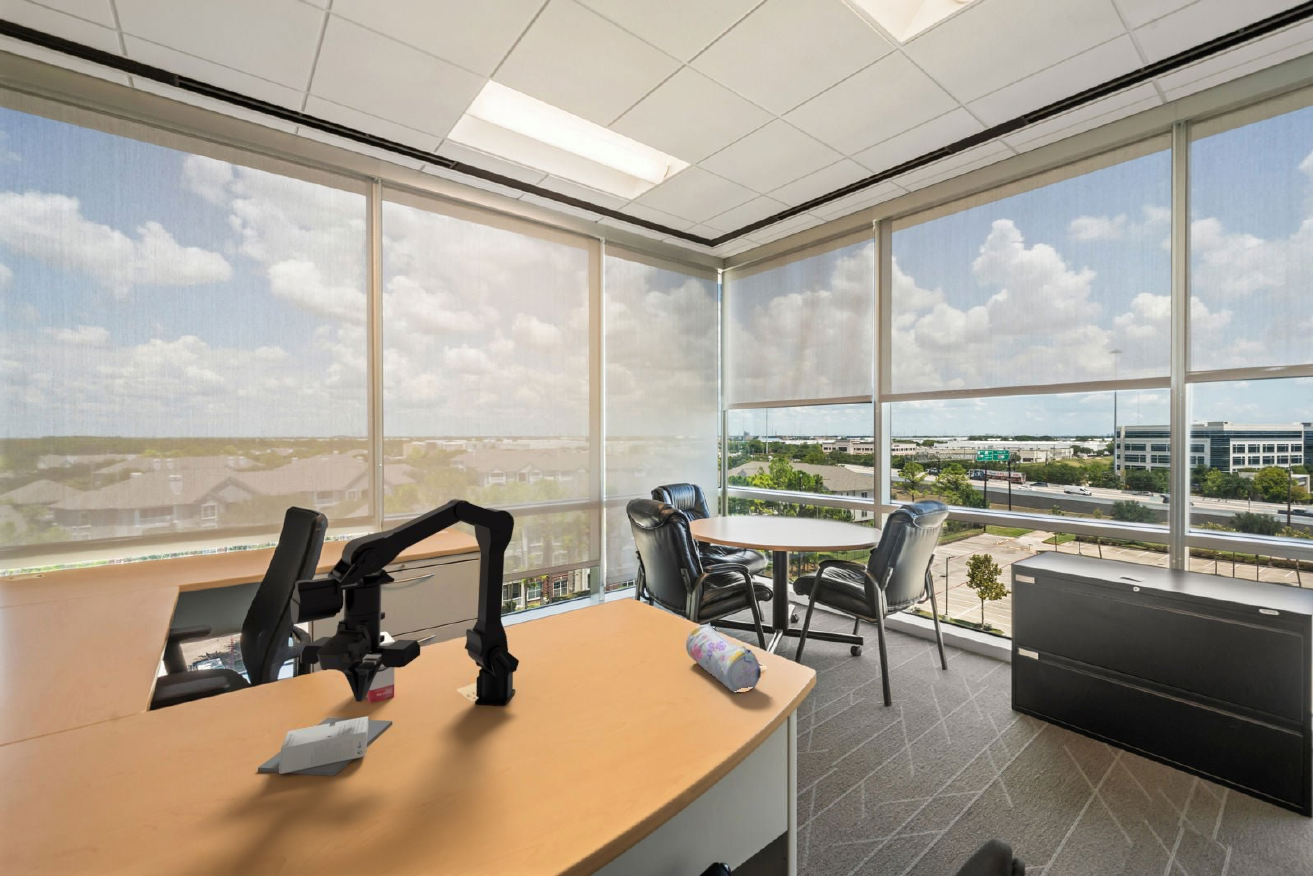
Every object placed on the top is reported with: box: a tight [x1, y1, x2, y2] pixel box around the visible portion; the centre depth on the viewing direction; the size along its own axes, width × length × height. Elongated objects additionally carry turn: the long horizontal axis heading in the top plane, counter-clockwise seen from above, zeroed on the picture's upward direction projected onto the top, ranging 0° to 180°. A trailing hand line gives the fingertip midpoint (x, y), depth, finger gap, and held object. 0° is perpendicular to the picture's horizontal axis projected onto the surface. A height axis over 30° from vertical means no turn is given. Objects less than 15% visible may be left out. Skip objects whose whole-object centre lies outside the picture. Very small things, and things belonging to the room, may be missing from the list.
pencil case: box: [685, 623, 762, 692], centre depth 123 cm, size 21×9×10 cm, turn 25°
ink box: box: [365, 631, 396, 704], centre depth 113 cm, size 8×5×12 cm, turn 39°
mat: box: [257, 717, 393, 777], centre depth 92 cm, size 13×16×1 cm
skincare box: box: [279, 716, 369, 775], centre depth 88 cm, size 6×4×12 cm
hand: (360, 701), depth 92 cm, fingers closed
